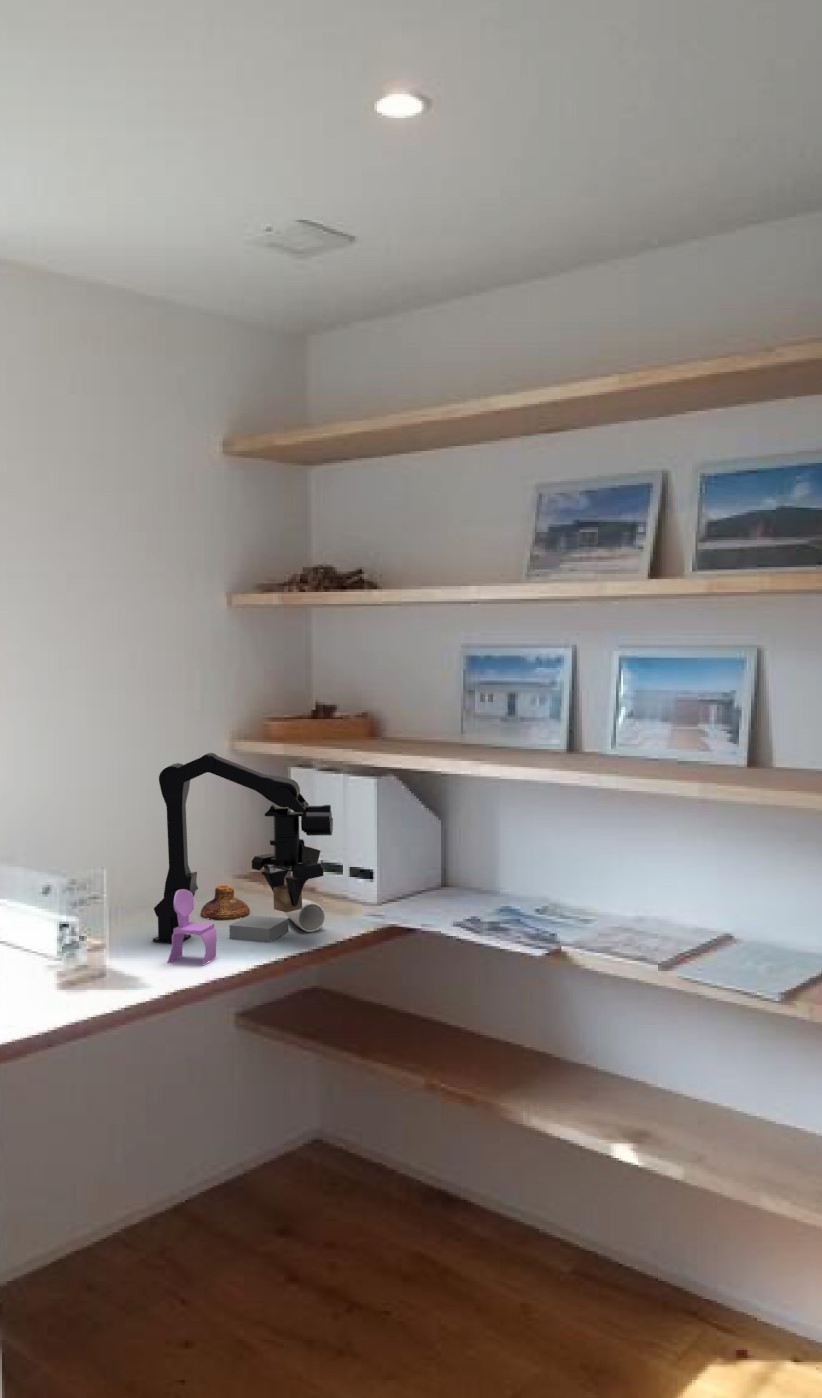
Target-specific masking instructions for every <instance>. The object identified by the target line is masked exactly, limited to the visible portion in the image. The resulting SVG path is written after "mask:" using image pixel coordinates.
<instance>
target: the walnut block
mask: <svg viewBox="0 0 822 1398" xmlns="http://www.w3.org/2000/svg"><path fill="white" fill-rule="evenodd" d="M273 889H274V893H273V910H275V911H278V912H279V911H280V912H283V913H284V912H291V911H295V910H299V909H302V899H303V891H302V892H301V895H300V898H299V901H298V904H297V906H292V903H291V900H290V895H289V891H288V887H287V884H284V885H282V886H277V887H273Z"/></svg>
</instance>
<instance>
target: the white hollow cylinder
mask: <svg viewBox="0 0 822 1398" xmlns="http://www.w3.org/2000/svg"><path fill="white" fill-rule="evenodd" d="M283 914H284V915H285V916H286V918H289V919H290V920H291V921H292V922H293V923H294V925H295V926H296V927H298V928H299V929H301V930H303V931H305V932H308V933H311V932H316V931H318V930H320V929H321V928H322V926H323V925H324V923H325V919H326V913H325V910H324V909H323V907H322V906H321V905H319V904H318V903H317V902H315V901H313V900H309V899H306V898H305V899H304V898H302V909H299V910H295V911H291V912H283Z"/></svg>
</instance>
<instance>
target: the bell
mask: <svg viewBox="0 0 822 1398" xmlns="http://www.w3.org/2000/svg"><path fill="white" fill-rule="evenodd" d="M250 911H251V909H250V907H249V905H248V904H247V903H246V902H244V901H243V900H241V899H240V898H238V897H236V896H235V891H234V888H233V887H232V886H228V885H227V884H220V885H217V886H216V887H215V889H214V898H213V899H212V900H210V901H208V902H206V903H205V904H204V905H203V906H202V908H201V910H200V915H201V917H202V916H203V917H205V918H204V919H206V918H209V919H208V920H211V919H213V920H212V921H230V920H229V919H232V920H237V919H236V918H238V919H241V918H240V917H242V918H245V917H247V916H249V915H250ZM244 916H245V917H244ZM203 917H202V918H203Z"/></svg>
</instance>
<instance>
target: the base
mask: <svg viewBox="0 0 822 1398" xmlns="http://www.w3.org/2000/svg"><path fill="white" fill-rule="evenodd" d="M289 919H290V918H289V917H277V916H267V915H253V914H248V915H247V916H245V917H242V918H240V919H239V920H237V921H235V922H233V923H231V924H230V925H229V930H228V931H229V939H233V940H242V941H255V942H264V941H267V943H270V942H272V941H273V940H276V939H278V938H279V937H281V936H282V935H284V934H287V932H289V931H290V930H289V929H290V928H289V923H290V922H289V921H290V920H289Z"/></svg>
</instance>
